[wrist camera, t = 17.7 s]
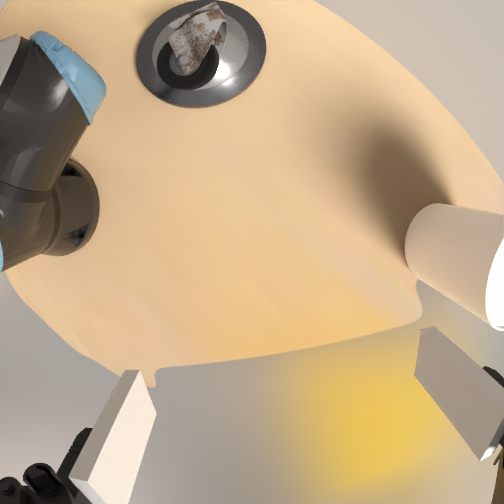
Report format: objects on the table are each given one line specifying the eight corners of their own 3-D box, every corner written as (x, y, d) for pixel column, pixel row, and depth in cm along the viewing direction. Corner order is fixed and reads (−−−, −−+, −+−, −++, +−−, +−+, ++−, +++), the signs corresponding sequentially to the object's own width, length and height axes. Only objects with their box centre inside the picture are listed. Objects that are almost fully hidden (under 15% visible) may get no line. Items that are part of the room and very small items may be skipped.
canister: (400, 284, 46) (473, 339, 26) (407, 201, 43) (495, 218, 23) (459, 279, 46) (533, 321, 26) (466, 205, 43) (551, 223, 23)
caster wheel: (181, 100, 40) (156, 47, 36) (251, 67, 37) (224, 13, 33) (164, 99, 34) (136, 39, 30) (245, 59, 31) (213, -2, 27)
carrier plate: (142, 120, 39) (139, 118, 38) (137, 17, 35) (135, 14, 33) (274, 99, 39) (275, 96, 38) (256, -4, 35) (256, -7, 33)
